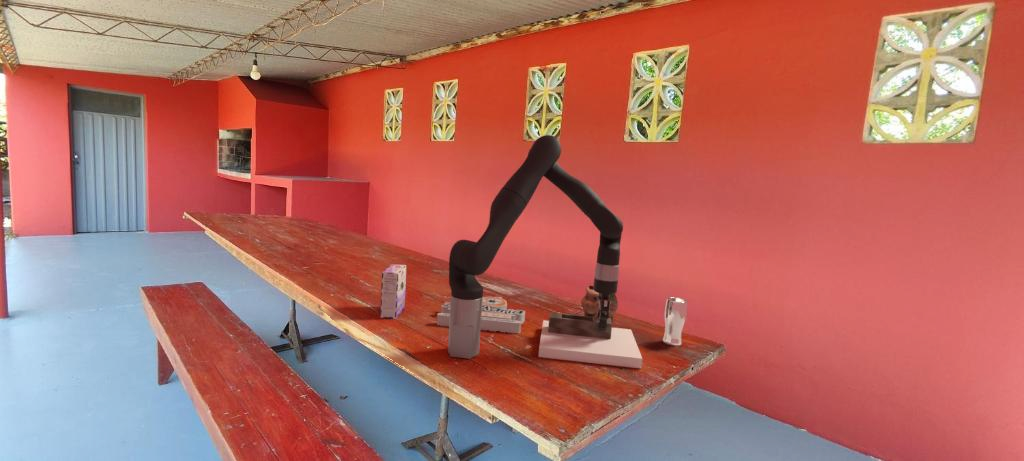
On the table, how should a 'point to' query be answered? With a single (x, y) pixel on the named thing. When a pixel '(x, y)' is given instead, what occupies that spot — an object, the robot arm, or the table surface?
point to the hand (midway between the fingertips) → (601, 326)
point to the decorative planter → (591, 303)
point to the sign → (491, 316)
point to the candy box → (393, 291)
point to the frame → (578, 325)
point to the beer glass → (674, 320)
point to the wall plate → (592, 348)
